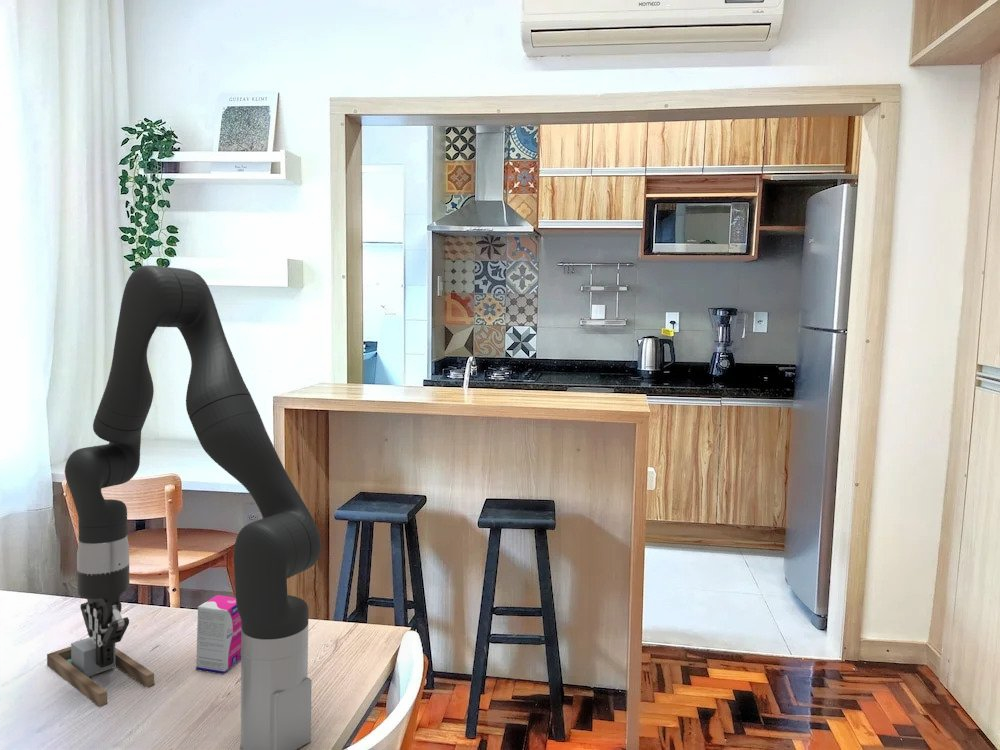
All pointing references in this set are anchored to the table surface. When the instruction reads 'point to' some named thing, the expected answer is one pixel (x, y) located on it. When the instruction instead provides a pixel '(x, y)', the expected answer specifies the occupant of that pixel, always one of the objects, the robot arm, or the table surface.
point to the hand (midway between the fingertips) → (104, 664)
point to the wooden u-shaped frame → (88, 687)
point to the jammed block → (87, 657)
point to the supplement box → (218, 635)
